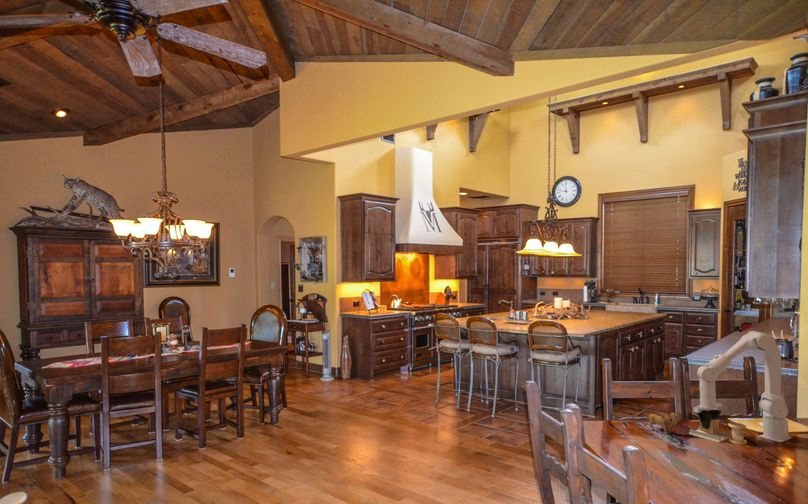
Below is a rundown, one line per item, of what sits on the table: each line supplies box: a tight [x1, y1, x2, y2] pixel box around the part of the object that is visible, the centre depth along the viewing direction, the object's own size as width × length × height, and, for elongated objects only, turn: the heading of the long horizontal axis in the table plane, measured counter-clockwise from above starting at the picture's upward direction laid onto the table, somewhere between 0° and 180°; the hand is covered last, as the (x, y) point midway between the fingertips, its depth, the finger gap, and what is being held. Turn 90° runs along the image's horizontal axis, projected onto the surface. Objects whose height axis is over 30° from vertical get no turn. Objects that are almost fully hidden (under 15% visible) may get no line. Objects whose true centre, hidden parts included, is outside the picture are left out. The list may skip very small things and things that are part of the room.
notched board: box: [688, 425, 731, 443], centre depth 206 cm, size 9×12×2 cm
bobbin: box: [728, 421, 748, 446], centre depth 198 cm, size 6×6×7 cm
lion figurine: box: [642, 412, 679, 435], centre depth 213 cm, size 15×5×9 cm, turn 39°
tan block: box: [698, 417, 720, 435], centre depth 206 cm, size 4×6×6 cm, turn 21°
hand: (709, 427), depth 206 cm, fingers closed on tan block, 3 cm apart
